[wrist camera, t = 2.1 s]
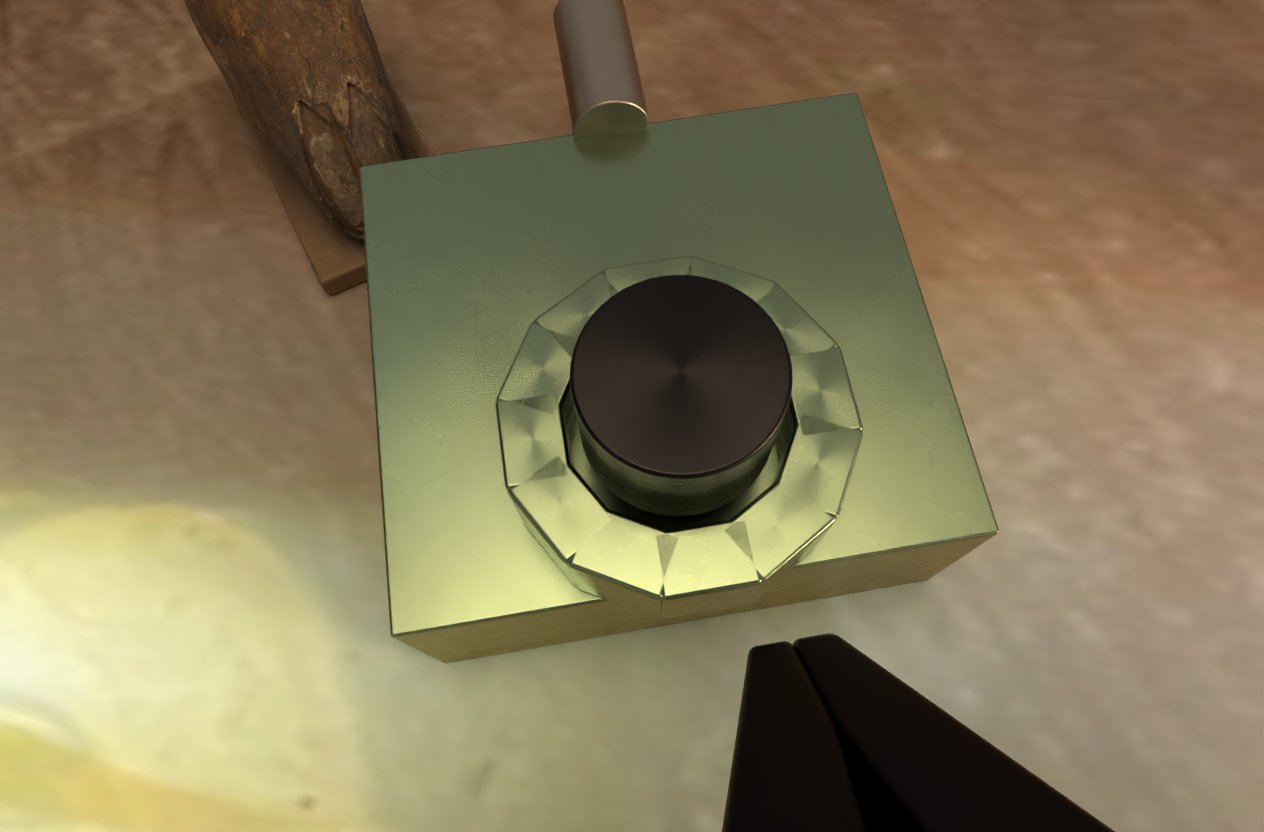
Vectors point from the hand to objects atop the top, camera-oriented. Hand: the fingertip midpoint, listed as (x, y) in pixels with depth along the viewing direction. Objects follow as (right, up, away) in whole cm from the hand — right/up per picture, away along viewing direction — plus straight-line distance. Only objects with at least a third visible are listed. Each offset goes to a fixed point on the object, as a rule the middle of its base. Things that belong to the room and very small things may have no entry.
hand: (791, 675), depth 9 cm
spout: (-2, +11, +14) cm, 17 cm away
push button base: (-1, +3, +15) cm, 15 cm away
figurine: (-11, +12, +19) cm, 26 cm away
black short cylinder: (-1, +2, +8) cm, 8 cm away
